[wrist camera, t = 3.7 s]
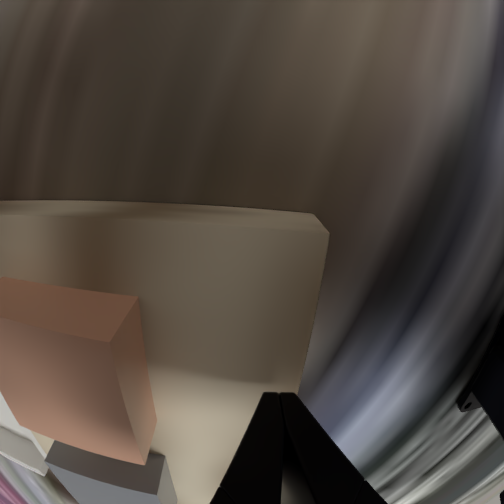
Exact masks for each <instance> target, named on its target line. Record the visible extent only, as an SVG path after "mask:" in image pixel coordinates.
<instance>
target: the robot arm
mask: <svg viewBox="0 0 504 504" xmlns="http://www.w3.org/2000/svg"><path fill="white" fill-rule="evenodd" d="M480 407H482V408H483V410H484V411H485V413H486V414H487V416H488V417H489V419H490V420H491V422H492V423H493V425H494V426H495V428H496V430H497V431H498V433H499V434H500V436H501V437H502V439H503V441H504V314H503V317H502V319H501V321H500V324H499V326H498V328H497V331H496V333H495V335H494V337H493V340H492V342H491V344H490V346H489V348H488V350H487V352H486V354H485V356H484V358H483V360H482V362H481V364H480V366H479V368H478V370H477V372H476V373H475V375H474V377H473V379H472V381H471V382H470V384H469V386H468V388H467V389H466V391H465V393H464V394H463V396H462V398H461V399H460V401H459V403H458V408H459V410H460V411H461V412H466V411H469V410H473V409H476V408H480ZM500 501H501V504H504V490H503V491H502V492H501V493H500ZM209 504H388V503H387V502H386V501H385V500H384V499H383V498H382V497H381V496H380V495H379V494H378V493H377V492H376V491H375V490H374V489H373V488H372V486H371V485H370V484H369V483H368V482H367V481H366V480H365V481H364V477H363V476H362V475H361V474H360V473H359V471H358V470H357V469H356V468H355V467H354V465H353V464H352V463H351V462H350V461H349V460H348V458H347V457H346V456H345V455H344V454H343V452H342V451H341V450H340V449H339V447H338V446H337V445H336V444H335V443H334V441H333V440H332V439H331V438H330V436H329V435H328V434H327V433H326V432H325V430H324V429H323V428H322V427H321V425H320V424H319V423H318V422H317V420H316V419H315V418H314V417H313V415H312V414H311V413H310V411H309V410H308V409H307V408H306V406H305V405H304V404H303V403H302V401H301V400H300V399H299V397H298V396H297V395H296V394H295V393H294V392H280V393H278V392H263V394H262V396H261V398H260V400H259V403H258V405H257V407H256V409H255V412H254V414H253V416H252V418H251V420H250V423H249V425H248V427H247V429H246V431H245V433H244V436H243V438H242V440H241V442H240V444H239V446H238V448H237V450H236V452H235V455H234V457H233V459H232V461H231V463H230V465H229V467H228V469H227V471H226V473H225V475H224V477H223V479H222V481H221V483H220V485H219V487H218V488H217V490H216V492H215V494H214V496H213V498H212V500H211V502H210V503H209Z"/></svg>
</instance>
